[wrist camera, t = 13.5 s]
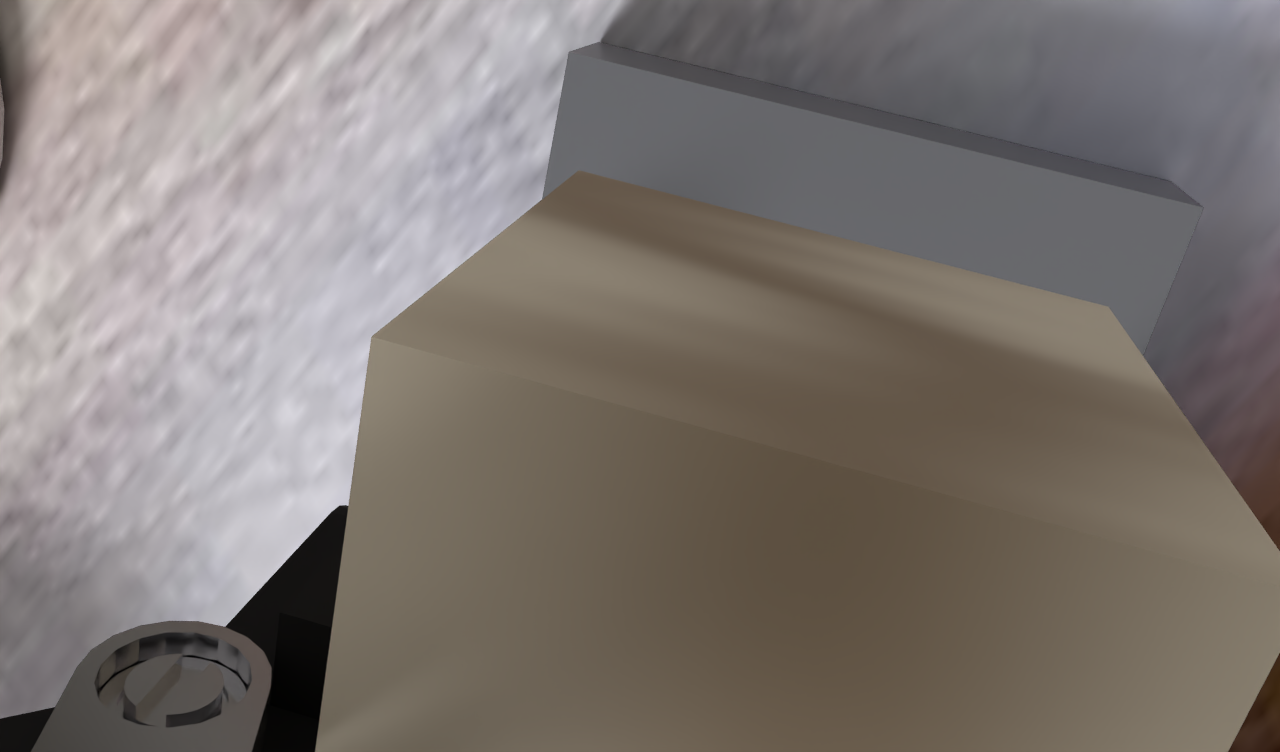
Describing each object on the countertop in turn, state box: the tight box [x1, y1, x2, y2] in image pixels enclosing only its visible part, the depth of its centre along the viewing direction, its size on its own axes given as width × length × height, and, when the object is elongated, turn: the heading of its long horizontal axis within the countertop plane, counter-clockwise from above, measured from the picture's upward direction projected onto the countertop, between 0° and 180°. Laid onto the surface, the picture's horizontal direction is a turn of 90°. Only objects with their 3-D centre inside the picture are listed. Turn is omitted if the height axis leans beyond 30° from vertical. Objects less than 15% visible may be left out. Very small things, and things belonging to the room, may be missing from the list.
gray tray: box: [542, 42, 1203, 355], centre depth 25 cm, size 22×12×6 cm, turn 168°
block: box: [315, 170, 1280, 752], centre depth 9 cm, size 5×5×5 cm
